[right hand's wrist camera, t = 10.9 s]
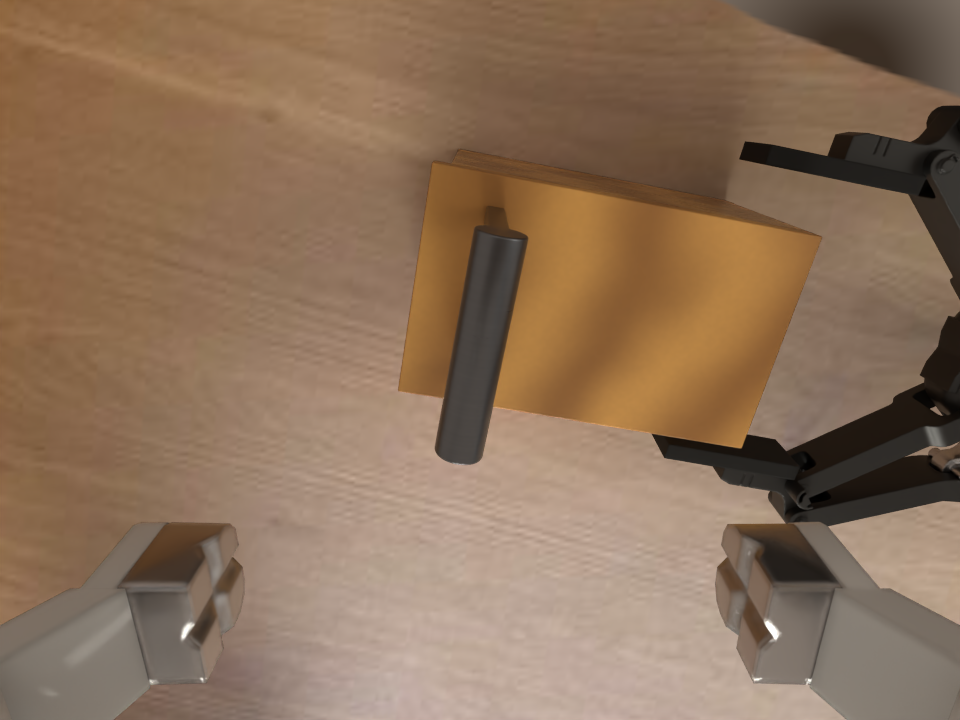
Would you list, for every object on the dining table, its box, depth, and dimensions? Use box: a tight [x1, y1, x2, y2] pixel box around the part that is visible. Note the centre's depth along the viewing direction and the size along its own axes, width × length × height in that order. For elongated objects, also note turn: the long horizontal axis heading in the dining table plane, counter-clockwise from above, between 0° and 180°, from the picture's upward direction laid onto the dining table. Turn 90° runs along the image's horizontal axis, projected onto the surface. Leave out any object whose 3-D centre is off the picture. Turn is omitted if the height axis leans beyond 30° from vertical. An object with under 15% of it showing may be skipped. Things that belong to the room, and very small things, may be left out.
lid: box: [398, 161, 822, 465], centre depth 23 cm, size 15×9×8 cm, turn 80°
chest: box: [451, 149, 808, 232], centre depth 31 cm, size 15×10×10 cm, turn 80°
